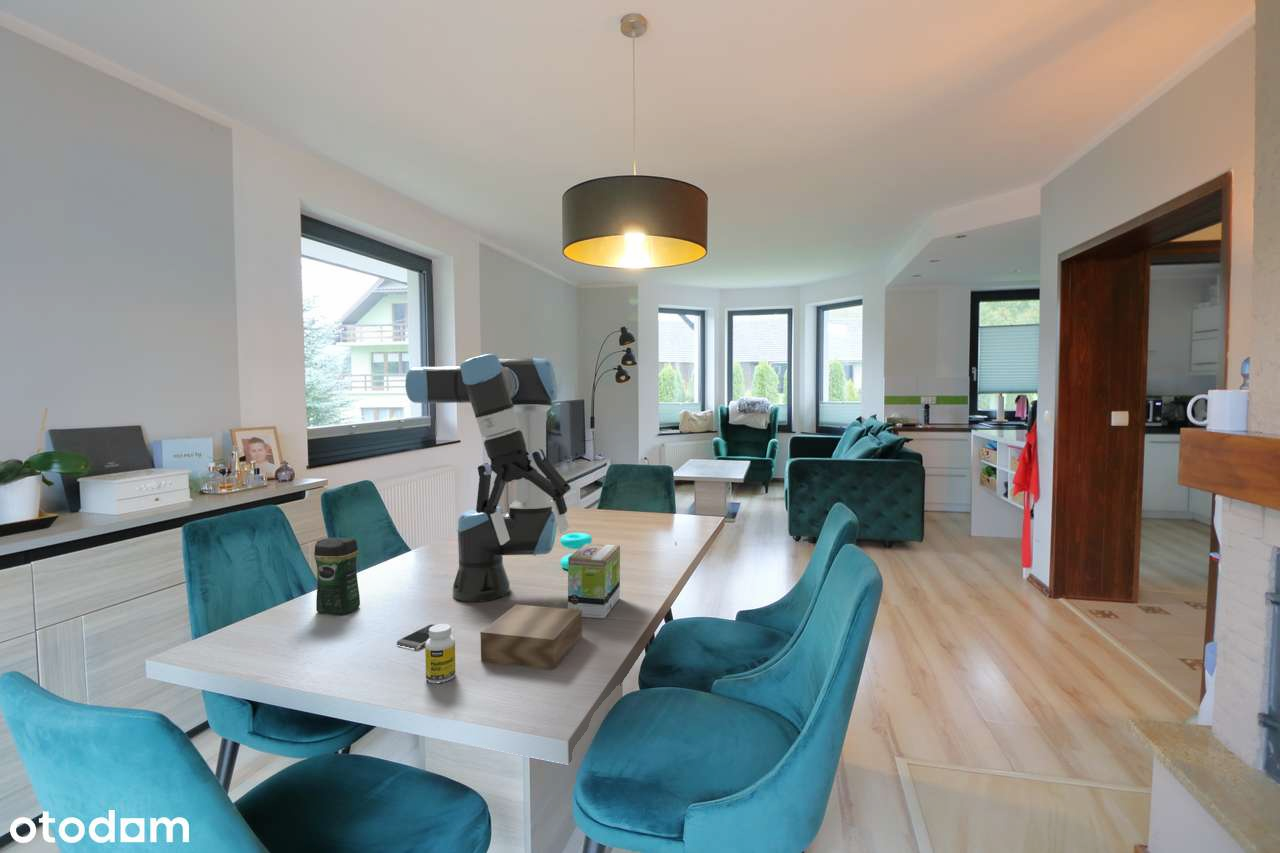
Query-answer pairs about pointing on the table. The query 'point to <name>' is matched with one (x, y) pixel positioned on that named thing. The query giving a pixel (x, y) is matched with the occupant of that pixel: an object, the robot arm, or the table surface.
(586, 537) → the donuts
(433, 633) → the supplement bottle
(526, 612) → the walnut block
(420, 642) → the cell phone
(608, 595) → the tea box
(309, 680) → the table surface
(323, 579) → the coffee jar
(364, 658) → the table surface
